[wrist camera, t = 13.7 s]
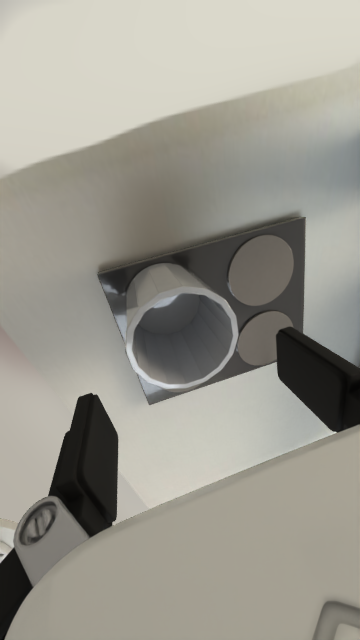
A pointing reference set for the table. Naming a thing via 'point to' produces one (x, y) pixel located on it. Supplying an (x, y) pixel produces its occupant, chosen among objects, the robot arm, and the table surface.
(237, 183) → the table surface
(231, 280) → the hob
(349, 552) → the robot arm
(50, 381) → the table surface
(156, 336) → the pot
